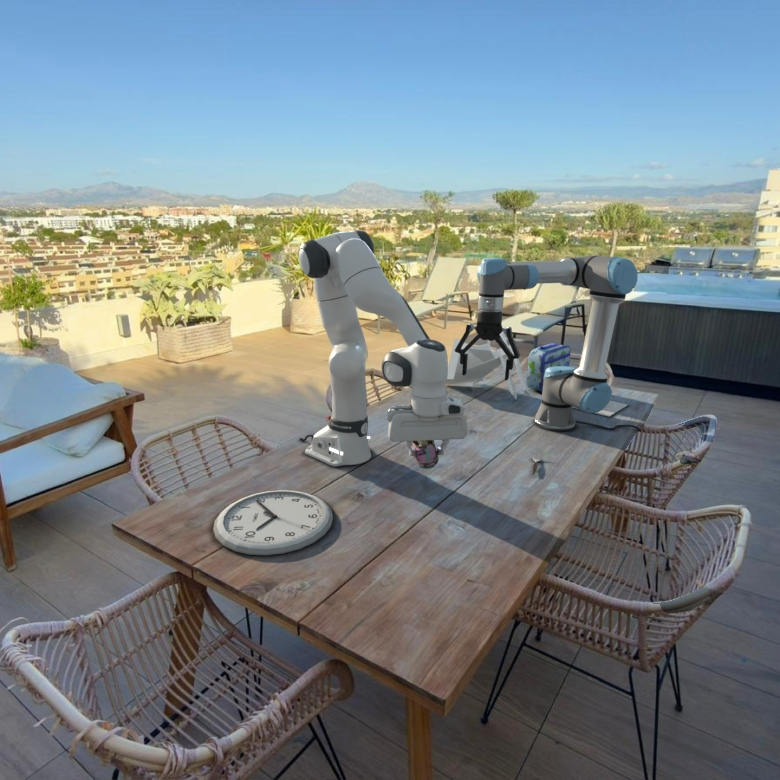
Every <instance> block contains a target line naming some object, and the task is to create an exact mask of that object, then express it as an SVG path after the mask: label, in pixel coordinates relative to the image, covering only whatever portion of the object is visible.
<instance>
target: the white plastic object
mask: <svg viewBox="0 0 780 780" xmlns="http://www.w3.org/2000/svg"><path fill="white" fill-rule="evenodd" d="M502 328H504V327H503V326H502ZM500 336H501V338H502V340H503V341H504V343H505V344H506V345H507V347H508V348H509V349H510V351H511V352H512V354H513V355H514V353H513V351H512V348H511V346H510V344H508V339H507V336H506V335H505V334H504V332H503V331H502V332H501V334H500ZM460 340H461V338H460V339H458V338H454V340H453V344H452V349H451V353H450V357H449V360H448V361H449V362H448V376H447V380H446V385H445V386H449V385H458V384H467V383H468V384H469V383H473V384H477V383H480V382H482V381H484V378H485V377H486V376H487V375H489V374H490V373H492V372H494V371H495V370H496V369H497V368H499V367H500V366H502V370H503V373H504V374H505V371H506V360H507V359H508V357H507V355H506V354H505V352H504V351H503V350H502V348H501V347H500V348H498V349H496V350H495V349H493V348H492V347H491V346H490V344H489V343H488V342H487V343H483V344H479V345H473V346H471V347H470V348H469V349H468V350H467V351H466V353H465V354H468V358H467V373H466V374H465V375H462V370H463V364H460V354H459V353H457V352H455V349H456V347H457V345H458V343H459V342H460ZM467 345H468V343H466V341H465V342H464V344H463V346H462V348H461V349H464V348H465V347H466V346H467ZM513 364H514V366H515V369H516V372H517V376H518V380H519V382H520V385H521V389H522V391H523V393H524V395H525V396H526V397H528V396H531V395H530V389H529V388H528V387H527V384H526V381H527V380H526V378H525V375H524V371H523V369H522V368H523V367H522V366H521V362H520V359H519V358H518V359H514V363H513ZM506 383H507V386H508V390H509V393H510V394H511V395H512V397H513V398H514V399H515V400H517V392H516V391H517V390H516V388H515V385H514V381H513V378H512V375H511V370H509V379H508V380H506Z"/></svg>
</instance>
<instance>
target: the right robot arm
mask: <svg viewBox="0 0 780 780" xmlns="http://www.w3.org/2000/svg"><path fill="white" fill-rule="evenodd" d="M476 276H477V279H478V281H479V286H478V302H477V309H479V310H478V311H477V316H476V324H472V323H468V324H466V327H465V331H464V333H463V335H462V336H461V338H460V339H461V340H460V342H459V343H458V345H457V347H456V349H455V352H457V353H459V354H460V364H463V370H462V375H465V374H466V373H467V358H468V354H465V353H466V351H467V350H468V349H469V348H470V347H473V346H474V344H476V343H477V341H479V340H480V339H481V340H482V341H489V342H493V341H495V342H496V344H498V346H499V347H500V348H502V350H503V351H504V352H505V354H506V355H507V357H508V359H507V360H506V371H505V373H504V381H507V380H508V379H509V371H512V370H513V368H514V364H515V363H514V359H519V358H520V357H521V353H520V350H519V348H518V345H517V343H516V340H515V337H514V336H513V329H512V327H511V326H508V327H503V325H502V322H503V311H502V310H503V309H504V300H505V291H509V290H513V291H514V290H524V291H526V290H531V289H533V288H535V287H536V286H537V285H538V284H540V285H541V284H560V285H562V286H565V287H566V286H571V287H577V288H582V289H587V290H589V297H590V299H591V300H592V303H591V307H590V312H589V316H588V321H587V327H586V332H585V336H584V341H583V347H582V351H581V355H580V361H579V366H578V367H574V366H569V367H567V366H555V367H549V368H547V369H546V370H545V375H544V379H543V390H542V392H541V402H540V405H539V407H538V410H537V411H536V413H535V416H534V424H535V425H536V426H537V427H539V428H542V429H544V430H549V431H556V432H567V431H572V430H574V429H575V428H576V424H580V425H585V426H591V427H596V428H599V429H604V430H608V431H614V430H616V429H617V428H624V427H625V428H633V429H636V430H637V432H642V429H640V428H639V427H638V426H636V425H633V424H616V425H615V426H614V427H607V426H603V425H599V424H596V423H590V422H585V421H579V420H576V418H575V417H576V416H575V413H574V407H576V408H578V409H577V410H580V411H581V412H586V413H589V414H596V413H597V412H599V411H601V410H602V409H603V408H605V407H606V406H607V404H608V403H609V401H611V399H612V394H613V391H612V388H611V386H610V385H609V384H608V375H607V374H606V371H605V370H606V365H607V363H608V362H607V361H608V357H609V352H610V347H611V343H612V339H613V334H614V330H615V329H614V328H615V325H616V320H617V316H618V310H619V307H620V304H621V303H622V302H623V301H625V300H626V298H627V297H626V296H627V295H628V294H630V293H632V292H633V291H634V290H633V289H635V288H636V286H637V284H638V277H639V276H638V269H637V266H636V265H635V263H634V262H633V261H632V260H631V259H630V258H627V257H620V256H607V255H605V256H603V255H585V256H577V257H575V256H574V257H565V258H562V259H561V260H539V261H538V260H536V261H535V260H534V261H507V259H506V258H501V257H499V258H497V257H493V258H492V257H486V258H483V259H482V260H481V263H480V264H479V266H478V268H477V271H476ZM502 327H503V328H502ZM474 330H475V332H476V333H477V334H476V336H474V337H473V338H472V340H470V342H468V343H467V346H466V347H465V348H464V349H461V348H462V346H463V344H464V342H465V343H466V341H467V339H468V337H470V336H469V335H470V334H471V332H473V331H474ZM502 331H503V332H504V334H505V336H506V339H507V342H508V343H509V345H510V346H511V348H512V351H513V353H514V355H513V354H512V352H511V351H510V349H509V348H508V347H507V345H506V344H505V343H504V341H503V340H502V338H501V336H500V334H501V332H502ZM576 408H575V409H576Z"/></svg>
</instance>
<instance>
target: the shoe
mask: <svg viewBox="0 0 780 780" xmlns="http://www.w3.org/2000/svg"><path fill="white" fill-rule="evenodd" d="M410 446H411V447H412V448H415V449H416V456H412V458H413V460H414V462H415V464H417V465H418V466H419V468H420V469H423V470H429V469H433V468H435V466H436V465H437V464H438V462H439V459H440V458H439V455H438V454H437V446H436V443H435V440H426V441H412V445H410Z"/></svg>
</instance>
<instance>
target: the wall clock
mask: <svg viewBox="0 0 780 780" xmlns="http://www.w3.org/2000/svg"><path fill="white" fill-rule="evenodd" d="M333 520H334V516H333V511H332V509H331V507H330V506H329V505H328V503H327V502H325V501H324V500H322V499H321V498H320V497H318V496H315V495H313V494H310V493H307V492H303V491H298V490H287V489H286V490H285V489H280V490H279V489H277V490H267V491H262V492H258V493H257V492H256V493H253V494H250V495H247V496H245V497H241V498H240V499H238V500H236V501H234V502H233V503H230V504H229V505H228V506H227V507H225V508H224V509H223V510H222V511H220V512H219V513H218V516H217V517H216V518H215V519H214V523H213V529H212V530H213V533H214V536H215V540H217V541H218V542H219V543H220V544H221V545H222V546H223V547H225V548H227V549H229V550H231V551H233V552H236V553H241V554H244V555H249V556H250V555H251V556H252V555H253V556H273V555H281V554H282V555H283V554H286V553H292V552H294V551H299V550H301V549H304V548H305V547H307V546H310V545H312V544H314V543H316V542H317V541H319V540H320V539H321V538H323V537H324V536H325V535H326V534H327V533H328V532H329V530H330V529H331V527H332V525H333Z"/></svg>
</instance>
